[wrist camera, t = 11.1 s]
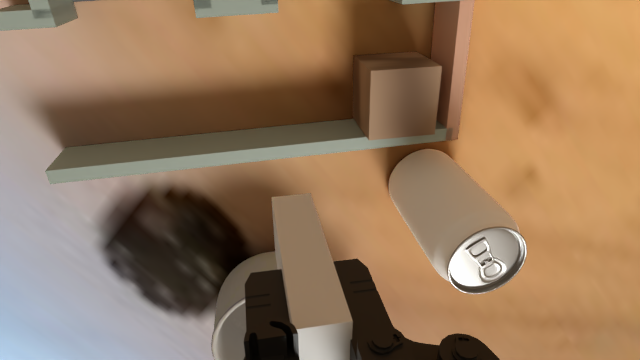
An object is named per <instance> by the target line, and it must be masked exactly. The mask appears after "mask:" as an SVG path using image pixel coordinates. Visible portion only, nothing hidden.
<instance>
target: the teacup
mask: <svg viewBox="0 0 640 360" xmlns="http://www.w3.org/2000/svg"><path fill="white" fill-rule="evenodd" d="M269 270H277V262H276V255H275V251H273V252H266V253H261V254H258V255H255V256H253V257H250V258H248V259H247V260H245V261H243V262H242V263H240V264H239V265H238V266H237V267H235V268H234V269H233V270H232V271H231V272H230V274H229V275H228V276H227V278H226V279H225V281H224V283H223V285H222V287H221V289H220V292H219V296H218V300H217V305H216V313H215V324H214V332H213V335H212V344H211V345H212V354H213V357H214V360H244V357H245V349H244V337H245V333H246V307H245V283H246V281H247V279H248V277H249V275H250V273H253V272H261V271H269Z"/></svg>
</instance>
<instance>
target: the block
mask: <svg viewBox="0 0 640 360" xmlns="http://www.w3.org/2000/svg"><path fill="white" fill-rule="evenodd" d="M441 72H442V66H441V65H439V64H438V63H436V62H434V61H432V60H430V59H429V58H427V57H425V56H423V55H421V54H420V53H418V52H416V51H415V52H400V53H384V54H368V55H353V119H354V120H355V121H356V123H357V124H358V126H359V127H360V129H361V130H362V131H363V133H364V134H365V136H366V137H367V139H368V140H379V139H390V138H401V137H412V136H423V135H433V134H435V127H436V118H437V109H438V99H439V90H440V81H441Z"/></svg>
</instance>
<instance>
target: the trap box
mask: <svg viewBox="0 0 640 360" xmlns="http://www.w3.org/2000/svg"><path fill="white" fill-rule="evenodd" d="M28 1H29V4H24V5H14V6H9V7H5V8H1V9H0V31H5V30H20V29H35V28H50V27H58V26H60V25H62V24H65V23H67V22H69V21H72V20H74V19H76V18H78V16H77V13H76V9H75V6H74V2H77V1H94V0H28ZM193 1H194V7H195V13H196V18H203V17H218V16H233V15H248V14H264V13H279V12H278V0H193ZM390 1H393V2H396V3H399V4H416V3H431V2H435V12H434V24H433V36H432V49H431V60H432V61H434V62H436V63H438V64H439V65H441V66H442V72H441V81H440V90H439V99H438V109H437V118H436V127H435V134H433V135H423V136H412V137H401V138H390V139H379V140H368V139H367V137H366V136H365V134H364V133H363V131H362V130H361V129H360V127H359V126H358V124H357V123H356V121H355V120H354V119H345V120H335V121H325V122H315V123H305V124H295V125H285V126H275V127H265V128H255V129H245V130H235V131H225V132H215V133H205V134H195V135H185V136H175V137H165V138H155V139H145V140H135V141H125V142H115V143H105V144H95V145H85V146H75V147H66V148H65V149H64V150H63V151H62V152H61V153H60V155H59V156H58V157H57V158H56V159H55V160H54V162H53V163H52V164H51V165H50V166H49V167H48V168H47V170H46V171H45V172H46V174H47V177H48V180H49V182H50V184H56V183H65V182H74V181H83V180H92V179H101V178H110V177H119V176H129V175H138V174H147V173H156V172H165V171H174V170H183V169H192V168H201V167H210V166H220V165H229V164H238V163H247V162H256V161H265V160H274V159H283V158H292V157H301V156H310V155H320V154H329V153H338V152H347V151H356V150H365V149H374V148H383V147H392V146H401V145H411V144H420V143H429V142H438V141H447V140H456V139H458V133H459V125H460V116H461V108H462V100H463V91H464V83H465V75H466V67H467V58H468V50H469V42H470V34H471V25H472V17H473V9H474V0H390Z"/></svg>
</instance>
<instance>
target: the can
mask: <svg viewBox="0 0 640 360" xmlns="http://www.w3.org/2000/svg"><path fill="white" fill-rule="evenodd" d="M388 188H389V194H390V197H391V199H392V201H393V203H394V204H395V206H396V208H397V209H398V211H399V213H400V214H401V216H402V217H403V219H404V221H405V222H406V224H407V226H408V227H409V229H410V230H411V232H412V234H413V235H414V237H415V238H416V240H417V242H418V243H419V245H420V246H421V248H422V250H423V251H424V253H425V254H426V256H427V257H428V259H429V261H430V262H431V264H432V265H433V267H434V268H435V270H436V271H437V272H438V273H439V275H440V276H441V277H443V278H444V279H446V280H447V281H449V282H451V284H452V285H453V286H454V287H455V288H456V289H457V290H459V291H461V292H464V293H468V294H482V293H487V292H490V291H493V290H495V289H498V288H499V287H501V286H503V285H505V284H506V283H507V282H509V281H510V280H511V279H512V278H513V277H514V276H515V275H516V274H517V273H518V272H519V270H520V269H521V267H522V266H523V264H524V261H525V258H526V254H527V246H526V242H525V240H524V238H523V236H522V235H521V234H520V232H519V228H518V226H517V224H516V222H515V220H514V219H513V218H512V217H511V216H510V215H509V213H508V212H507V211H506V210H505V209H504V208H503V207H502V206H501V205H500V204H499V203H497V202H496V201H495V200H494V199H493V198H492V197H491V196H490V195H489V194H488V193H487V192H486V191H485V190H484V189H483V188H482V187H481V186H480V185H479V184H478V183H477V182H476V181H475V180H474V179H473V178H472V177H471V176H470V175H469V174H467V173H466V172H465V171H464V170H463V169H462V168H461V167H460V166H459V165H458V164H457V163H456V162H455V161H454V160H453V159H452V158H451V157H449V156H448V155H447V154H445V153H444V152H442V151H439V150H435V149H423V150H419V151H416V152H413V153H411V154H409V155H408V156H406V157H405V158H403V159H402V160H401V161H400V162H399V163H398V164H397V165H396V167H395V168H394V170H393V172H392V174H391V176H390V179H389V185H388Z"/></svg>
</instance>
